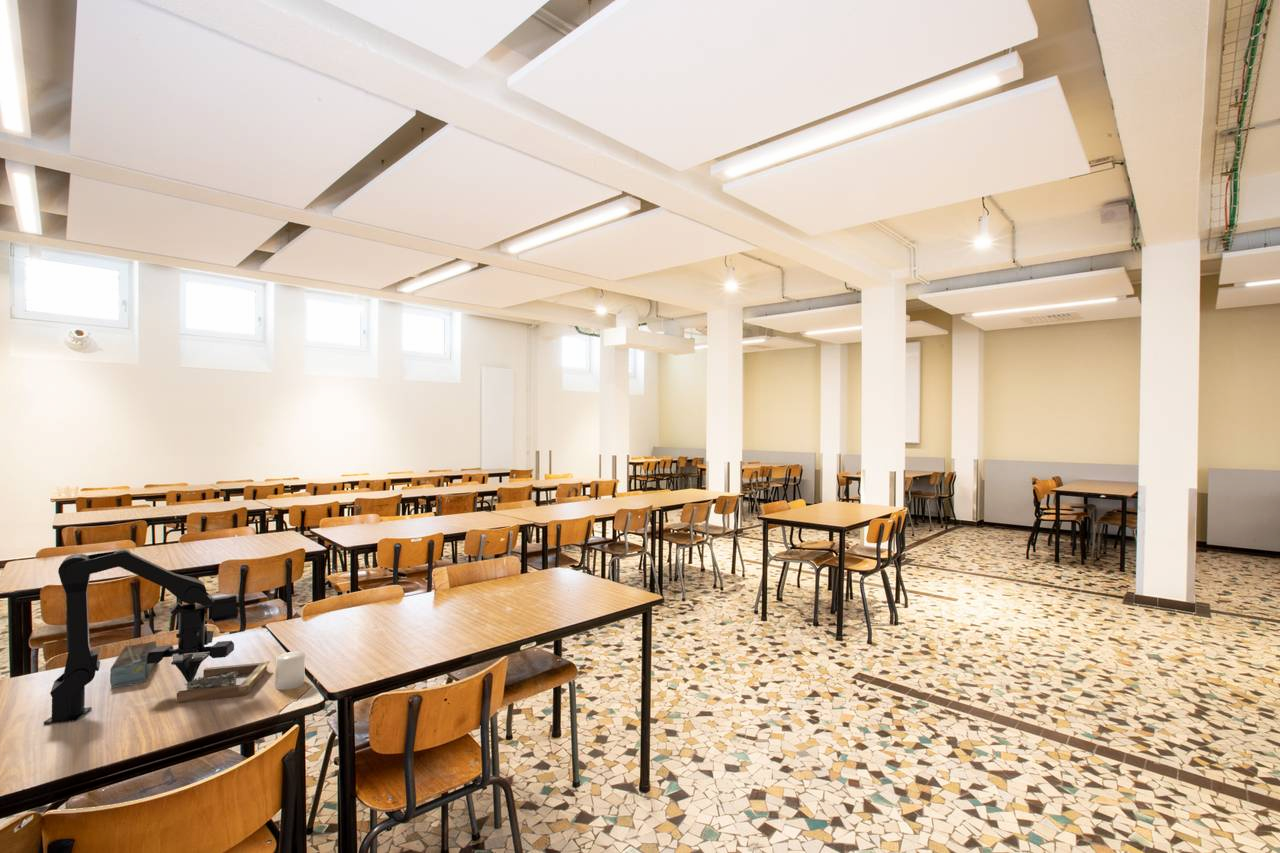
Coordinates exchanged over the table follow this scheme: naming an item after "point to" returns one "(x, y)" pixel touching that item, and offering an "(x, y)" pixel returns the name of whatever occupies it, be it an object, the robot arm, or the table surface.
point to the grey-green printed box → (132, 665)
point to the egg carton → (213, 681)
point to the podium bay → (225, 691)
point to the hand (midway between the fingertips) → (190, 683)
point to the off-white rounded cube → (290, 670)
